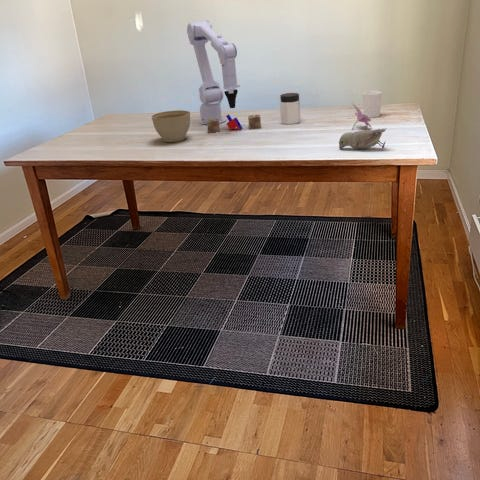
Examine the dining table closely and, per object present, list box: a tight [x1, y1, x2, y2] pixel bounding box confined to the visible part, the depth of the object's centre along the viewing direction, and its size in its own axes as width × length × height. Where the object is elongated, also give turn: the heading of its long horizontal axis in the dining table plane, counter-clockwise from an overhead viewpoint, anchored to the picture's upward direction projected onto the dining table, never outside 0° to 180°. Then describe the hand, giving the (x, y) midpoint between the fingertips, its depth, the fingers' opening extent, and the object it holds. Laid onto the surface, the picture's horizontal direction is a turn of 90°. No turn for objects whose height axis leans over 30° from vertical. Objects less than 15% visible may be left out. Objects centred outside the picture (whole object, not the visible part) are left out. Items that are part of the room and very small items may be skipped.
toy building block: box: [225, 114, 243, 131], centre depth 217 cm, size 4×4×8 cm
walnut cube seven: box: [206, 119, 221, 134], centre depth 218 cm, size 5×5×5 cm
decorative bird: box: [338, 128, 387, 150], centre depth 174 cm, size 5×16×8 cm, turn 72°
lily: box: [351, 103, 373, 131], centre depth 199 cm, size 12×12×10 cm
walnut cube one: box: [247, 114, 262, 130], centre depth 217 cm, size 5×5×5 cm
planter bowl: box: [150, 109, 191, 143], centre depth 209 cm, size 16×16×11 cm
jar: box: [279, 92, 301, 125], centre depth 219 cm, size 9×8×12 cm
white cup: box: [362, 90, 383, 119], centre depth 216 cm, size 8×8×10 cm
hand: (232, 107), depth 214 cm, fingers closed
